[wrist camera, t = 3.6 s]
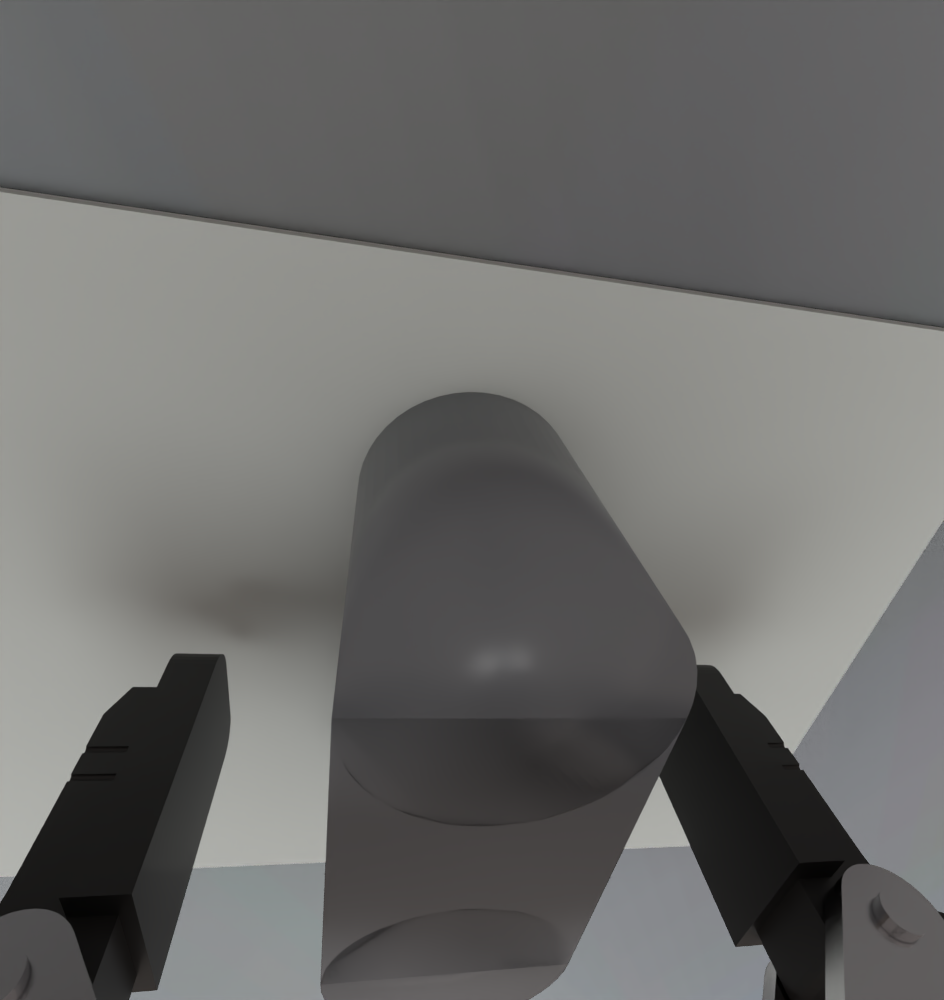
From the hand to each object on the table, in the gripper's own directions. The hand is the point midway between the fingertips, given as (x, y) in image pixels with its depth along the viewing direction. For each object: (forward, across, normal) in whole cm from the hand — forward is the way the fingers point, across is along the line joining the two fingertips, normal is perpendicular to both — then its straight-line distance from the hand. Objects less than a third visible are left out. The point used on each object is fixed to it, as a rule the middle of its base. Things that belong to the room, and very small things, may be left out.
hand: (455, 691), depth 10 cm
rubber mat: (+3, 0, +1) cm, 3 cm away
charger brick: (+2, 0, 0) cm, 2 cm away
